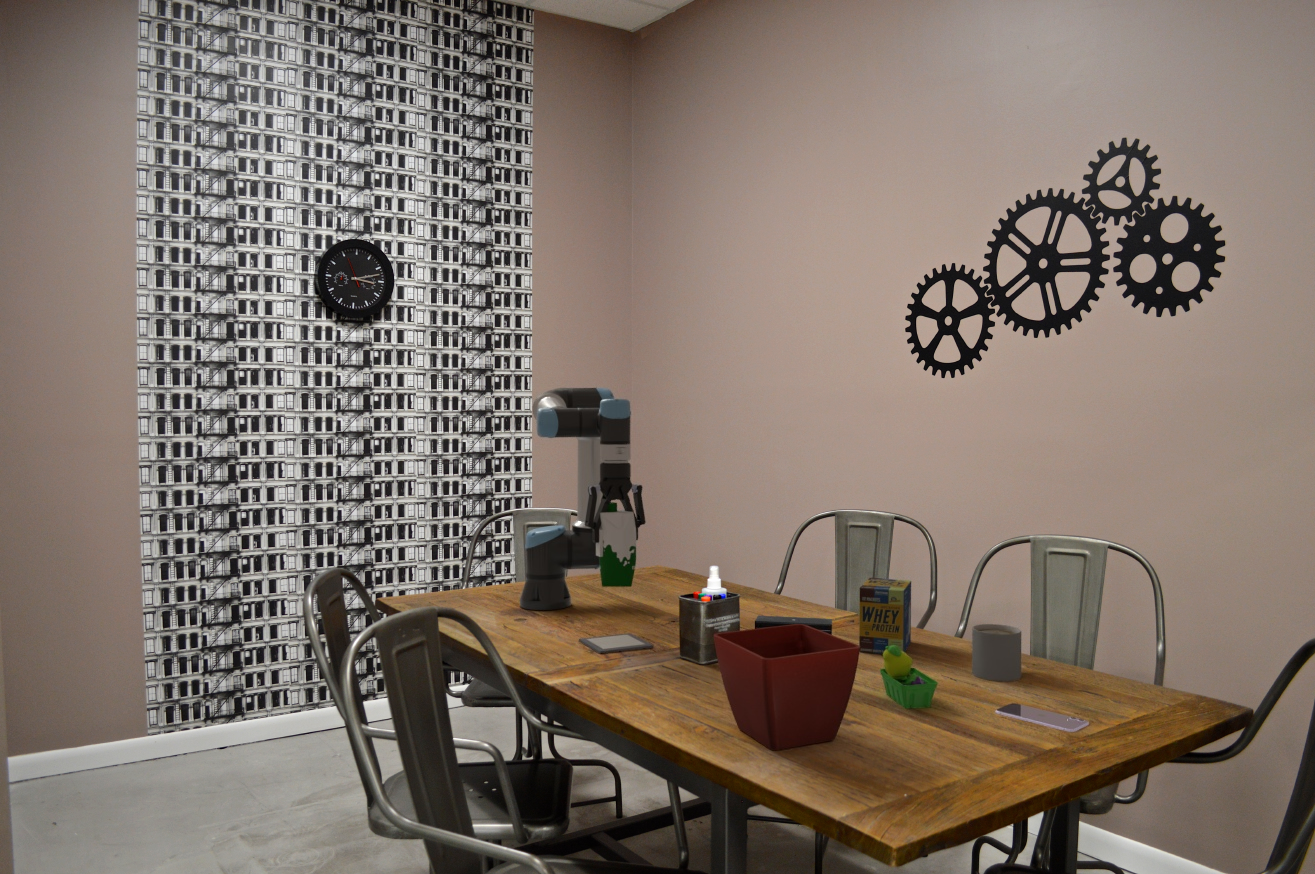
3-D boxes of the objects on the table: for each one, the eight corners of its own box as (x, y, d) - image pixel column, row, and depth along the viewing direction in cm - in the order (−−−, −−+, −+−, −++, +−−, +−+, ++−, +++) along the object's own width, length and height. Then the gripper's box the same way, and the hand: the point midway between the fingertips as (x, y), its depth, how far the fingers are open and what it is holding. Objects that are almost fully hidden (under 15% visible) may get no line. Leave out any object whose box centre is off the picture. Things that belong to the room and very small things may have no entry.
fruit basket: (939, 709, 176) (940, 650, 176) (895, 711, 174) (896, 652, 174) (913, 691, 187) (913, 636, 187) (872, 694, 186) (872, 638, 185)
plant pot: (764, 761, 149) (765, 657, 149) (711, 725, 166) (711, 632, 166) (863, 744, 157) (863, 645, 156) (801, 712, 174) (802, 623, 174)
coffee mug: (997, 683, 193) (997, 636, 192) (962, 672, 202) (962, 626, 201) (1043, 675, 199) (1043, 629, 198) (1006, 664, 207) (1007, 620, 207)
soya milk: (600, 581, 231) (600, 501, 231) (636, 581, 231) (636, 501, 231) (597, 587, 222) (597, 504, 222) (635, 587, 222) (635, 504, 222)
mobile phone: (1012, 700, 179) (1091, 719, 168) (1012, 706, 179) (1091, 725, 168) (992, 709, 174) (1072, 729, 162) (992, 714, 174) (1072, 734, 162)
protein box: (858, 652, 219) (858, 587, 219) (869, 638, 233) (869, 577, 233) (903, 656, 215) (904, 590, 215) (911, 641, 229) (912, 579, 229)
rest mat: (578, 641, 230) (578, 638, 230) (630, 635, 236) (630, 632, 236) (599, 653, 217) (599, 650, 217) (653, 647, 224) (653, 644, 224)
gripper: (581, 463, 218) (581, 559, 218) (660, 461, 227) (660, 554, 227) (570, 462, 225) (570, 555, 225) (647, 460, 234) (647, 550, 234)
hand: (615, 554), depth 226 cm, fingers closed on soya milk, 8 cm apart
